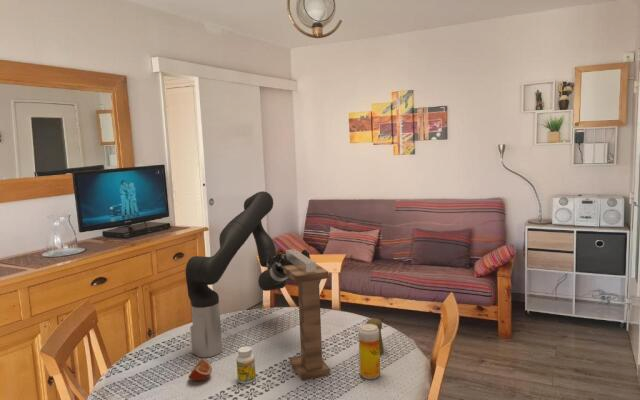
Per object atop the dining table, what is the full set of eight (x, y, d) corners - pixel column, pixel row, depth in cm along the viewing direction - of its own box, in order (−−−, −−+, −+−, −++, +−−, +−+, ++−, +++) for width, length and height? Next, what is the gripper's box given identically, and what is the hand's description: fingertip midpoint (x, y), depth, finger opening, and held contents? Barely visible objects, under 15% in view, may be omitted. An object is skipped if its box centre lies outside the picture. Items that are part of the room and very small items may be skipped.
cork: (385, 355, 154) (384, 323, 153) (366, 355, 154) (365, 323, 153) (382, 347, 160) (382, 316, 159) (365, 347, 160) (364, 316, 159)
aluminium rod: (286, 259, 156) (285, 250, 155) (294, 257, 157) (294, 249, 156) (306, 273, 137) (306, 263, 137) (316, 272, 138) (315, 262, 138)
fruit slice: (194, 372, 148) (193, 357, 147) (215, 372, 147) (214, 356, 147) (185, 385, 139) (184, 369, 139) (207, 385, 139) (206, 369, 138)
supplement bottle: (258, 376, 143) (257, 346, 142) (251, 385, 138) (249, 353, 137) (242, 374, 145) (240, 344, 144) (234, 383, 140) (232, 352, 139)
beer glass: (381, 379, 138) (380, 330, 137) (360, 380, 138) (359, 331, 137) (379, 369, 144) (377, 322, 143) (359, 370, 144) (357, 323, 143)
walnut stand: (287, 363, 151) (283, 265, 147) (317, 357, 154) (313, 261, 151) (300, 381, 139) (296, 276, 135) (332, 374, 142) (328, 271, 139)
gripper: (260, 260, 166) (270, 245, 152) (299, 255, 171) (311, 240, 157) (264, 281, 163) (274, 267, 149) (303, 275, 168) (316, 262, 154)
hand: (293, 253), depth 153 cm, fingers open, 8 cm apart
